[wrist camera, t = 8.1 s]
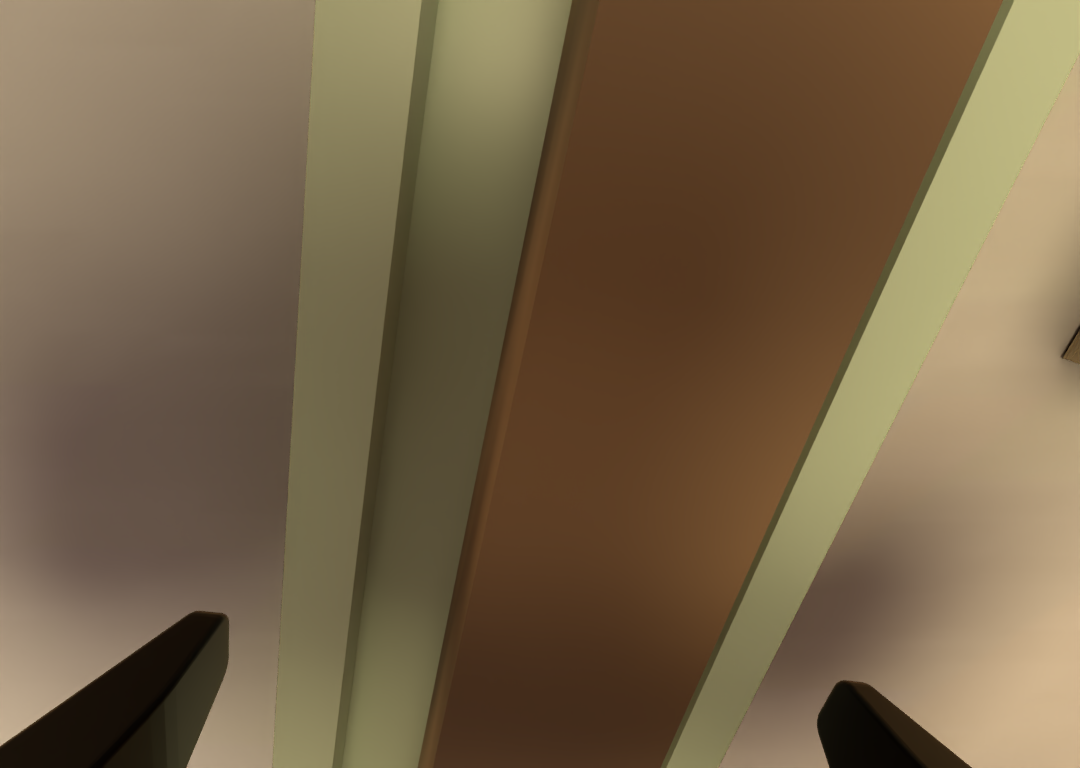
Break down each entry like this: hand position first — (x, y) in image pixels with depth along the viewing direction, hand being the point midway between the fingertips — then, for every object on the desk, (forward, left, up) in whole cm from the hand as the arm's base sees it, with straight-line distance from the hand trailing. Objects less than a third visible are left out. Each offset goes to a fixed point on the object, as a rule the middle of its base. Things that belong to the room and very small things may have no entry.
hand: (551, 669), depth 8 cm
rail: (0, 0, -2) cm, 2 cm away
